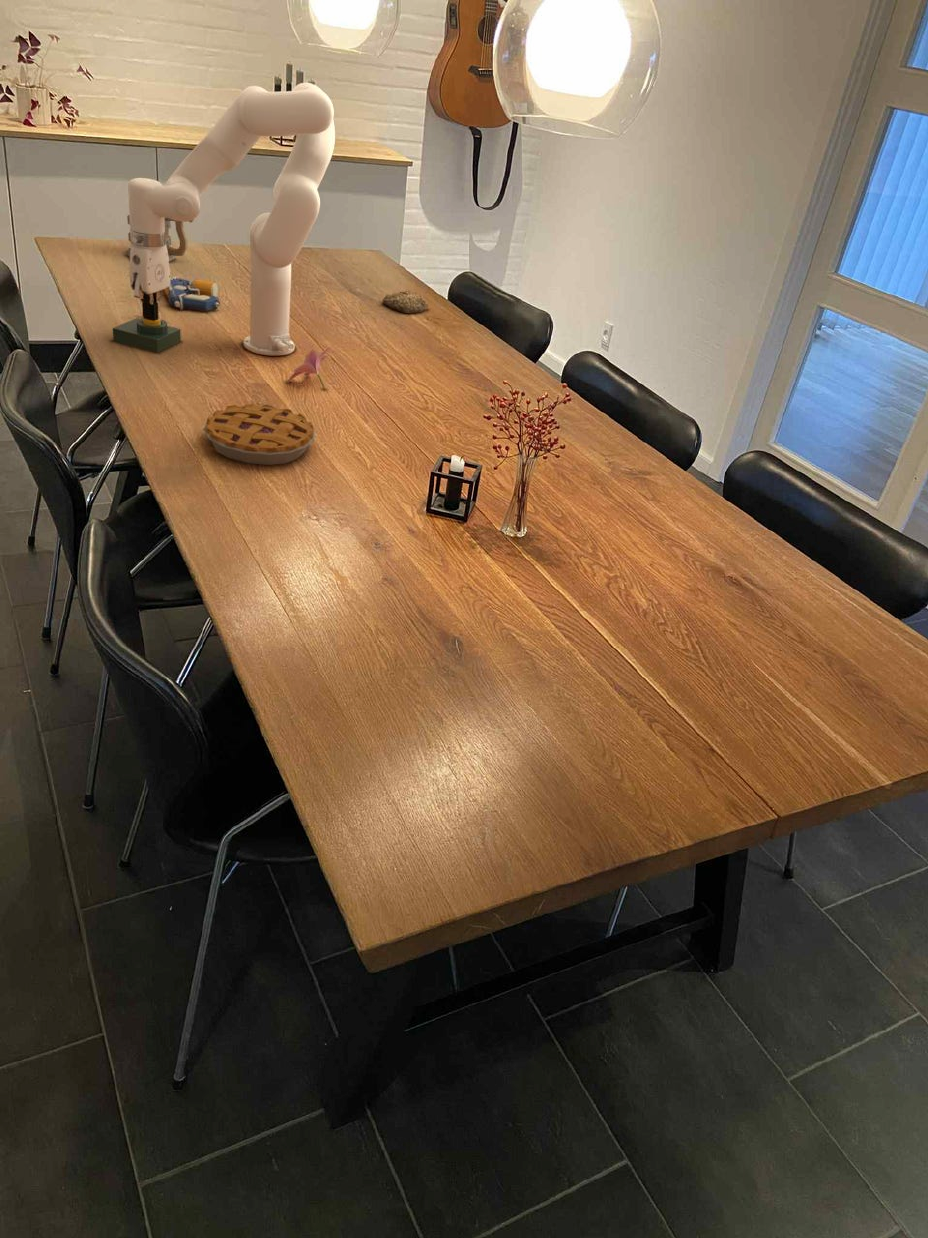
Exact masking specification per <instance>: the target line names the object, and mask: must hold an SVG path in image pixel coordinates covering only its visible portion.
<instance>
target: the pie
mask: <svg viewBox="0 0 928 1238" xmlns="http://www.w3.org/2000/svg"><path fill="white" fill-rule="evenodd" d="M203 431H204V433H205V435H206V437H207V438H208V440H209V441H211V444H212V445H213V447H214V449H215V452H216V453H218V454H219V455H222V456H224V457H226V458H228V459H231V460H235V461H239V462H242V463H246V464H255V465H264V466H265V465H266V466H272V465H285V464H288V463H291V462H294V461H295V460H297V459H298V458H300V457H301V456H302V455H303V454H304V453H305V452H306V450H307V449H308V448H309V446H310V444H312V442H314V441H315V437H316V436H315V435H316V430H315V428H314V425H313V423H312V422H311V421H309V420H307V417H306V416H305V415H304V414H302V413H298V414H295V413H294V412H293V410H292V409H289V408H283V409H280V408H277V407H275V406H273V405H270V404H264V405H262V406H260V405H258V406H257V405H255V404H253V403H249V404H245V405H243V406H237V405H235V404H233V405H228V406H226V408H225V409H223V410H221V409H217V410H215V411H214V412H213V414H212V416H208V417H207V419H206V422H205V424H204V427H203Z"/></svg>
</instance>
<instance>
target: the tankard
mask: <svg viewBox="0 0 928 1238" xmlns="http://www.w3.org/2000/svg"><path fill="white" fill-rule="evenodd" d="M126 217H127V218H126V219H127V224H128V225H129V226H130V218H129V214H128V215H127V216H126ZM164 218H165V217H164ZM194 220H195V219H193V220H191V221H188V222H189V224H190V223H193V222H194ZM171 222H174V223H175V232H176V234H177V237H178V240H179V247H178V248H175V247H173V246H172V237H171V236H170V234H169V233H170V232H169V229H171V228H172V225H171V224H172V223H171ZM184 226H185V225H184V222H182V221H177V220H173V219H169V218H165V244H166V246H167V251H168V256H169V263H170V262H171V261H173V260H175V257H183V256H185V254H186V252H187V250H188V248H189V247H188V245H189V244H188V238H187V235H186V232H185V227H184ZM127 235H128V236H127V237H128V242H129V243H131V240H130V231H129V232H128V233H127ZM130 251H131V247H129V248H128V249H126V256H128V257H129V258H130Z"/></svg>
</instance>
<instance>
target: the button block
mask: <svg viewBox="0 0 928 1238" xmlns="http://www.w3.org/2000/svg"><path fill="white" fill-rule="evenodd" d="M181 336H182V335H181V328H178V327H174V326H169V325H168V321H166V320H164V319H161V325H159V326H148V325H144V324H143V317H142V318H139V317H136V318H134V319H131V320H129V321H126V322H124V323H122V324H119V325H117V326H114V327H112V341H113V342H116V343H119V344H124V345H127V346H130V347H134V348H138V349H141V350H145V351H149V352H153V353H157V354H158V353H161V352H163V351H165V350H167V349H170V348H171V347H173V346H175V345H177V344H180V343H182V339H181V338H182V337H181Z"/></svg>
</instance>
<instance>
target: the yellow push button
mask: <svg viewBox="0 0 928 1238" xmlns="http://www.w3.org/2000/svg"><path fill="white" fill-rule="evenodd" d="M142 318H143V317H142ZM161 320H162V319H161V318H160V317H158V319H157V320H155V321H152V320H148V319H145V318H143V324H144V325H148V326H159V325H161Z"/></svg>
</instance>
